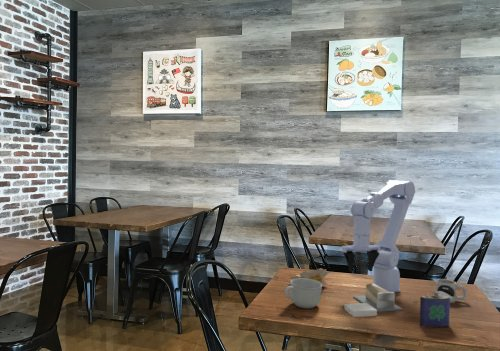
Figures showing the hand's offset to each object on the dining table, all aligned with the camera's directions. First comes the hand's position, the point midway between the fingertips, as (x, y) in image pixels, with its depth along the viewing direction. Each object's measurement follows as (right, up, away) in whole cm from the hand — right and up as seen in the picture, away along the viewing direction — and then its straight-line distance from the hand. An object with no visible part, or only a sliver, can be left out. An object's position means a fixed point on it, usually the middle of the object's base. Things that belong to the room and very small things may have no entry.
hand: (360, 270), depth 156 cm
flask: (+16, -11, -27) cm, 33 cm away
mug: (+32, -11, -2) cm, 34 cm away
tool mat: (+4, -10, -7) cm, 13 cm away
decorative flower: (-16, -9, +12) cm, 22 cm away
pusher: (+4, -9, -8) cm, 12 cm away
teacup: (-23, -10, -11) cm, 27 cm away
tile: (-5, -9, -13) cm, 17 cm away
